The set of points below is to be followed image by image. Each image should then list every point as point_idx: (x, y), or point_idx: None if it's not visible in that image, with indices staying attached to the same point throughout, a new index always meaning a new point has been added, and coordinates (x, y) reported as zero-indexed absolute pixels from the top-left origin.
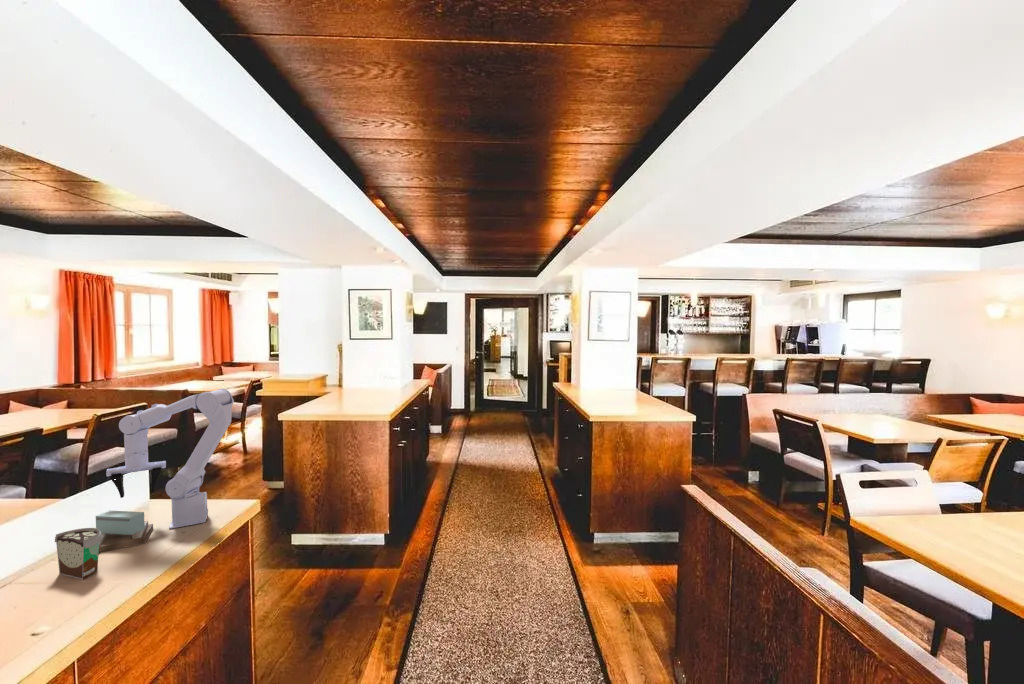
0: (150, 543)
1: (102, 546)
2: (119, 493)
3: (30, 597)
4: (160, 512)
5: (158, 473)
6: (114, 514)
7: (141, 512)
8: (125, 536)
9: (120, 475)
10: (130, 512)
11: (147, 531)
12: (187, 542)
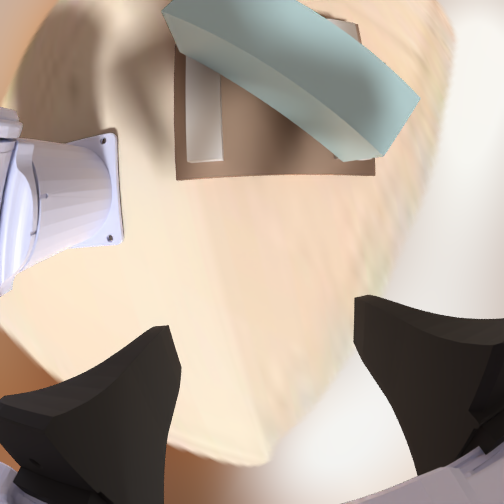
0: (162, 23)
1: None
2: (392, 302)
3: None
4: (208, 373)
5: (15, 397)
6: (328, 48)
7: (174, 9)
8: None
9: (486, 416)
10: (240, 33)
11: (178, 83)
12: (71, 11)
